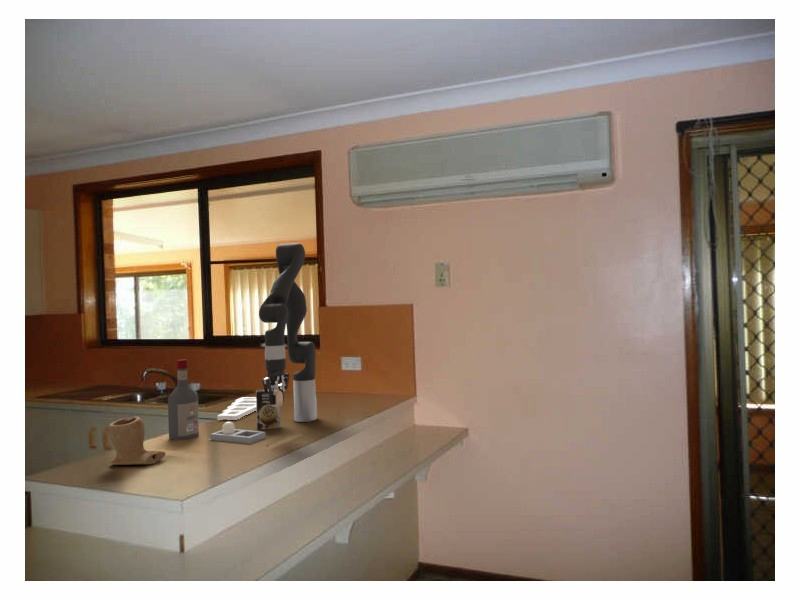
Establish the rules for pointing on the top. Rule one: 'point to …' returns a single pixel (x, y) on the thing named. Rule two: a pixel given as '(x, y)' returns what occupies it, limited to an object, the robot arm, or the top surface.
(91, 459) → the top surface
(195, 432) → the liquor
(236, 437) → the egg carton
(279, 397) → the brown egg
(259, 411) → the coffee box
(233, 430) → the cream egg
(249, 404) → the holder
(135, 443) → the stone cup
